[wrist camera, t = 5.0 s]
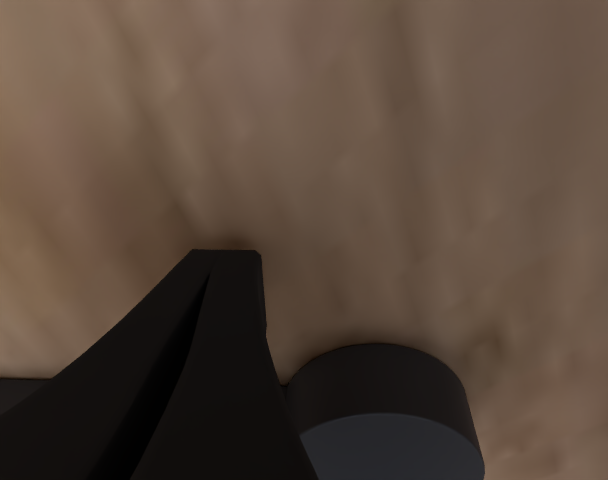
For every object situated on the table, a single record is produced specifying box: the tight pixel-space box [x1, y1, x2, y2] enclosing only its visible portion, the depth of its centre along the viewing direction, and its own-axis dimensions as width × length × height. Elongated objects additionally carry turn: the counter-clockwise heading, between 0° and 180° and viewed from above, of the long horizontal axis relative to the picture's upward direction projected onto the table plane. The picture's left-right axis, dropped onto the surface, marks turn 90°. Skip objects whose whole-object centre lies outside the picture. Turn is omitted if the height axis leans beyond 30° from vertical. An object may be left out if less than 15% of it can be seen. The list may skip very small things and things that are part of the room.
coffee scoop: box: [0, 344, 485, 480], centre depth 13 cm, size 15×5×2 cm, turn 91°
